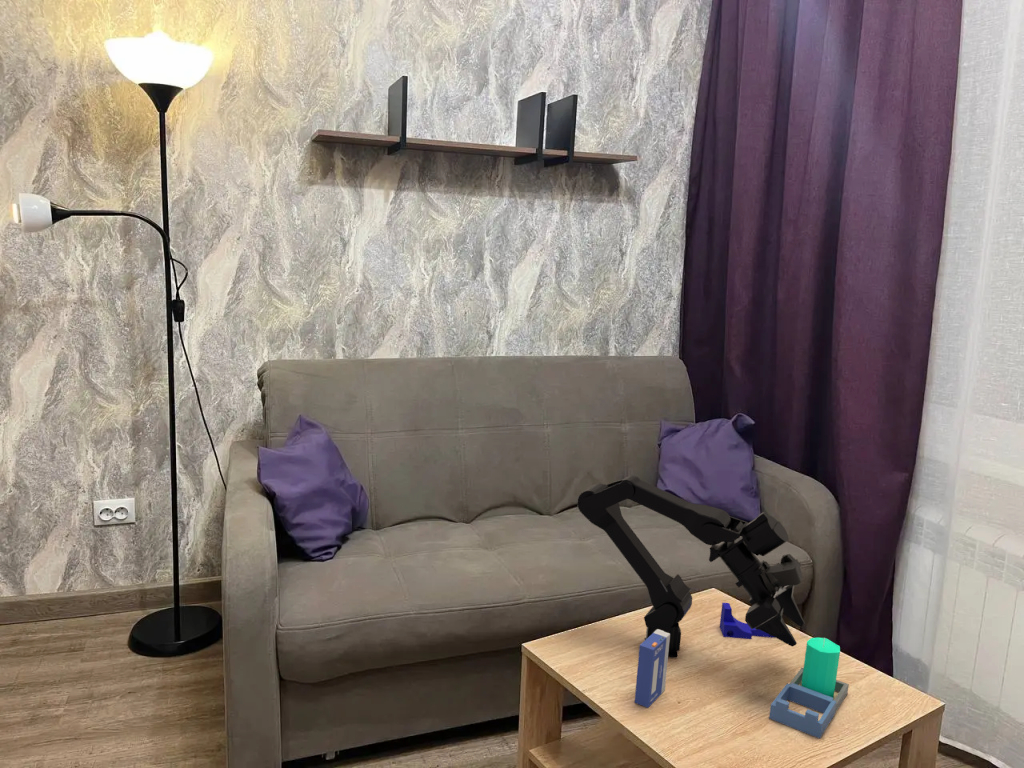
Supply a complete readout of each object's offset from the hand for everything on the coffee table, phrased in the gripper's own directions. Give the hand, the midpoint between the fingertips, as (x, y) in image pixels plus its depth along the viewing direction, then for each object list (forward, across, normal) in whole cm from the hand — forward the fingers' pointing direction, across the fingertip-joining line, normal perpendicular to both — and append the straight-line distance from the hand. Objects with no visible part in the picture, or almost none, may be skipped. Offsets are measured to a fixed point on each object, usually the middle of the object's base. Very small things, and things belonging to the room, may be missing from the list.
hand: (798, 634), depth 156 cm
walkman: (-8, -18, +24) cm, 31 cm away
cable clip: (0, +17, +16) cm, 24 cm away
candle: (+11, 0, +5) cm, 12 cm away
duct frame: (+11, -4, +5) cm, 13 cm away
